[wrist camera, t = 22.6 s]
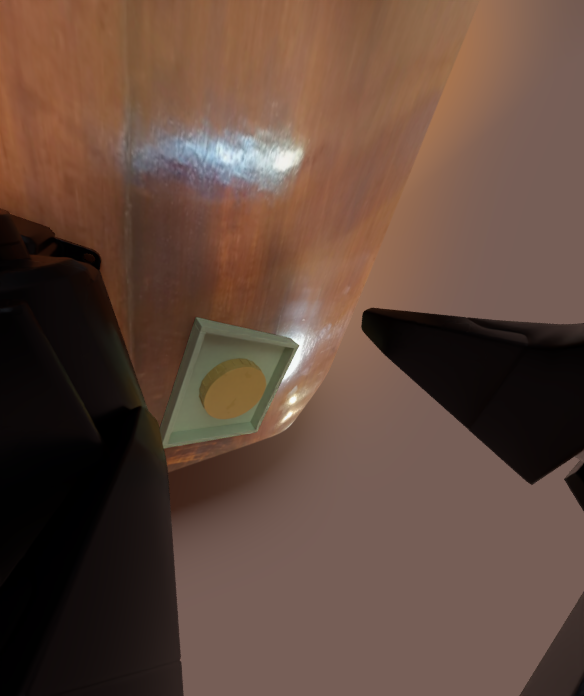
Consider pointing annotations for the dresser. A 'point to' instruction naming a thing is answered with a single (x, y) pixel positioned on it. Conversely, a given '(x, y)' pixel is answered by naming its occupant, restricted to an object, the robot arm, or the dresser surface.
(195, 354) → the tray
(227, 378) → the lid
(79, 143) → the dresser surface
